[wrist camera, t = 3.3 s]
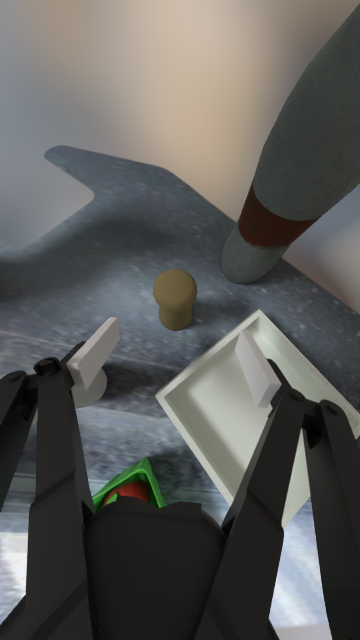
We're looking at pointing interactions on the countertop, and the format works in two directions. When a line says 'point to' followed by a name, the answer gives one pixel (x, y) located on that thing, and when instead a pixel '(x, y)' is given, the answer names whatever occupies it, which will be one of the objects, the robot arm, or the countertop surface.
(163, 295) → the cork
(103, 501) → the fruit basket
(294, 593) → the countertop surface
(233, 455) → the bin
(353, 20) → the bottle
